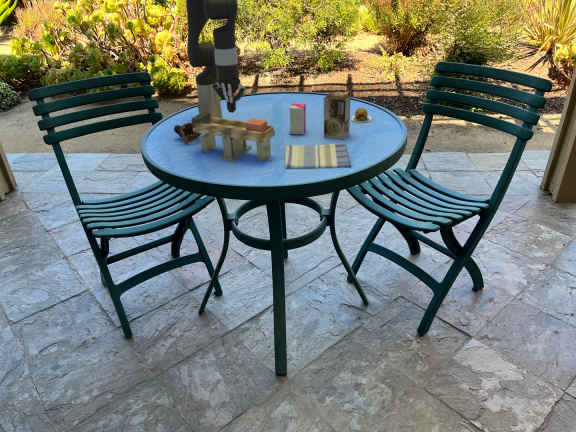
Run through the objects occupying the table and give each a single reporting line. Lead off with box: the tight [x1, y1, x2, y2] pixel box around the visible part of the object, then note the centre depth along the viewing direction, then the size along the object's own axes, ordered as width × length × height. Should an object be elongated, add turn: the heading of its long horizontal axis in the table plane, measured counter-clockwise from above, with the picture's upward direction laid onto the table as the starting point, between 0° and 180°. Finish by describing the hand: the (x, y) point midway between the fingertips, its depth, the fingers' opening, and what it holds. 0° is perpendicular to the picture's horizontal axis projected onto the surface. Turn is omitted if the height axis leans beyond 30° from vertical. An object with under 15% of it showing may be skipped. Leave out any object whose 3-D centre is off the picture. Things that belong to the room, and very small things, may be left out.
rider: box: [245, 118, 268, 134], centre depth 148 cm, size 6×5×4 cm
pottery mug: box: [173, 121, 203, 145], centre depth 170 cm, size 12×10×8 cm
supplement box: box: [289, 102, 307, 136], centre depth 170 cm, size 6×6×12 cm
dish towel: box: [284, 143, 352, 170], centre depth 152 cm, size 17×24×3 cm
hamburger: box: [350, 107, 372, 123], centre depth 183 cm, size 12×12×6 cm
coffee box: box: [323, 92, 351, 140], centre depth 165 cm, size 9×6×16 cm
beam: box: [190, 112, 276, 143], centre depth 152 cm, size 30×8×5 cm, turn 66°
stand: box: [199, 133, 272, 163], centre depth 155 cm, size 26×13×10 cm, turn 66°
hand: (232, 111), depth 149 cm, fingers closed
